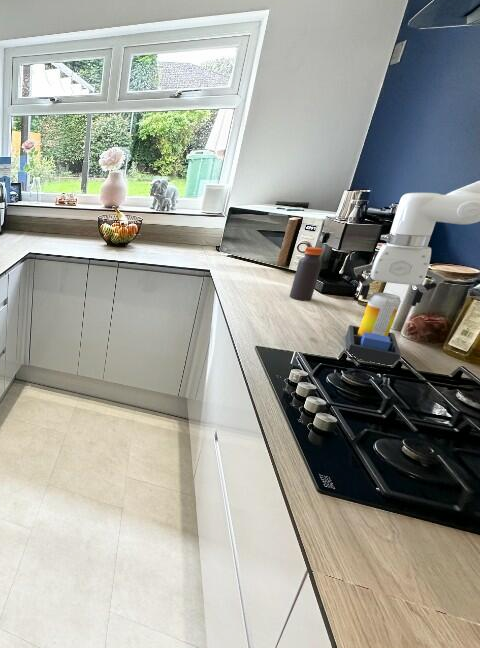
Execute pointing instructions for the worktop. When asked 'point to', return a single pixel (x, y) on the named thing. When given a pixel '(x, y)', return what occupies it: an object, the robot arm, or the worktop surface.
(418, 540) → the worktop surface
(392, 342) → the sorting tray
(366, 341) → the blue block
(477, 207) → the robot arm
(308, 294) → the bottle
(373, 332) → the beer can
